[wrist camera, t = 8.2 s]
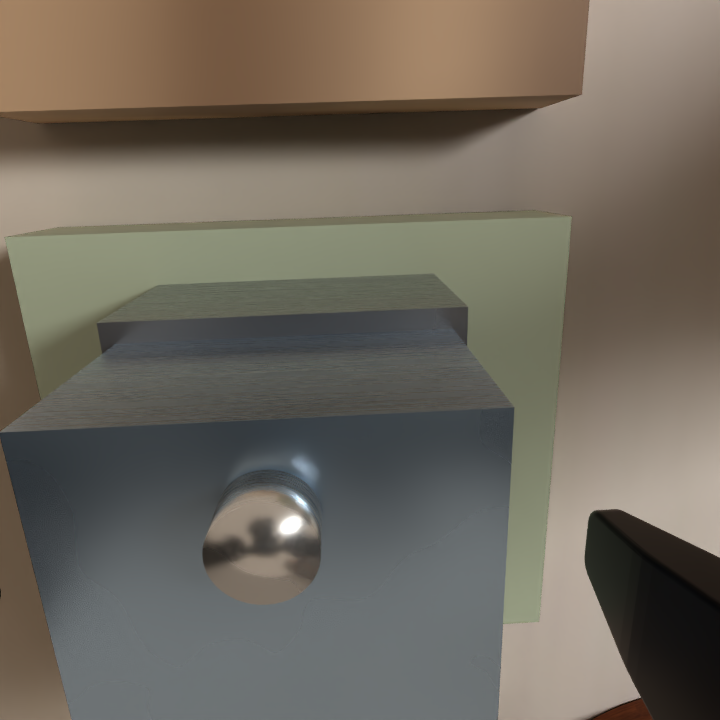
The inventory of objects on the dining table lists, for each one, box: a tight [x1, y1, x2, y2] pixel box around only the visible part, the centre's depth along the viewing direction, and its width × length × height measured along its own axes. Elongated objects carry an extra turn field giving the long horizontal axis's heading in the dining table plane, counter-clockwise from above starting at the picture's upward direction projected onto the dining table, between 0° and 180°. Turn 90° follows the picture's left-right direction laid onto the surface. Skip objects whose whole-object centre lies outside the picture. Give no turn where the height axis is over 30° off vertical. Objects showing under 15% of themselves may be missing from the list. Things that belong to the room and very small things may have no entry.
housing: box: [0, 273, 515, 720], centre depth 8 cm, size 7×5×6 cm
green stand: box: [5, 210, 572, 624], centre depth 12 cm, size 10×9×2 cm
